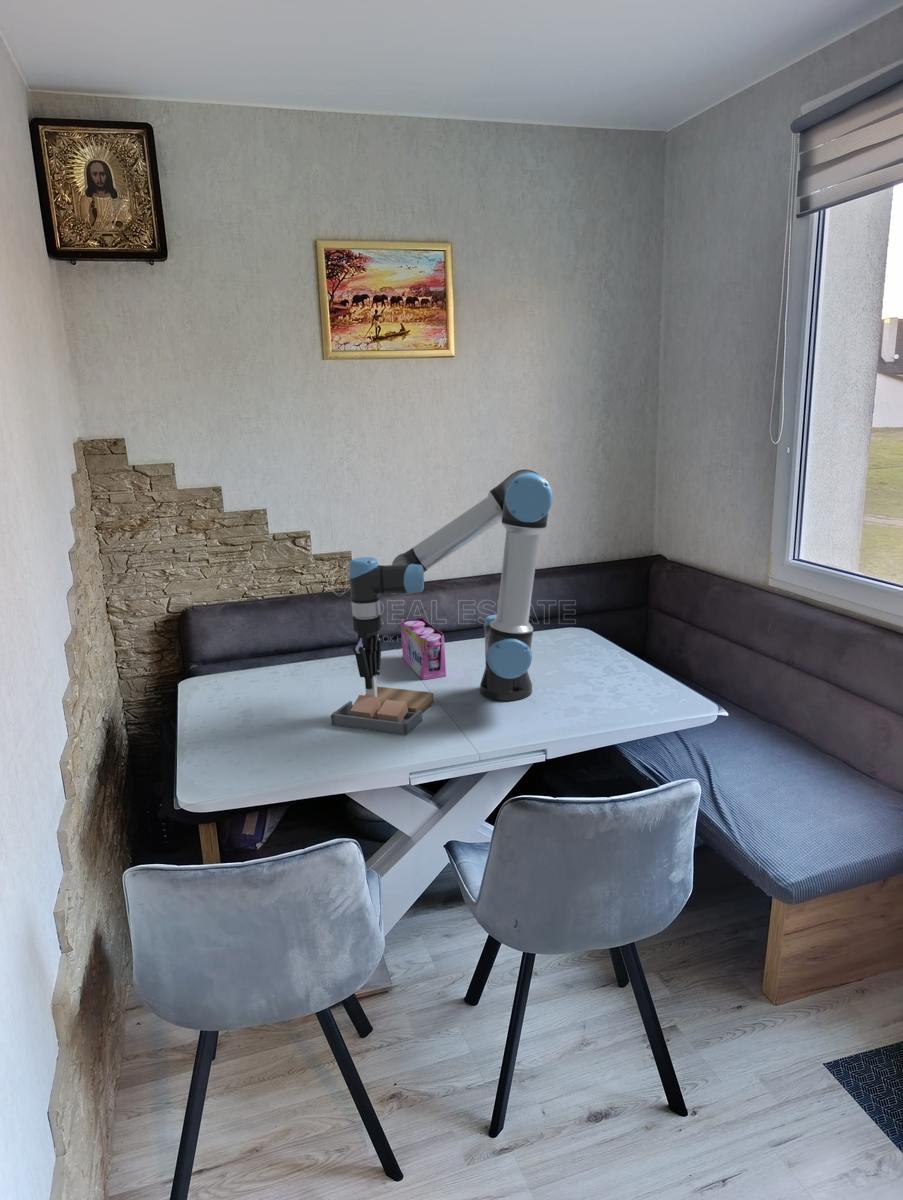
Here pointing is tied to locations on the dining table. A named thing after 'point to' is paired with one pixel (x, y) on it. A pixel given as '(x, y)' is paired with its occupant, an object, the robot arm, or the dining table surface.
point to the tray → (375, 721)
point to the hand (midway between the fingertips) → (371, 698)
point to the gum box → (423, 648)
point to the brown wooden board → (406, 698)
